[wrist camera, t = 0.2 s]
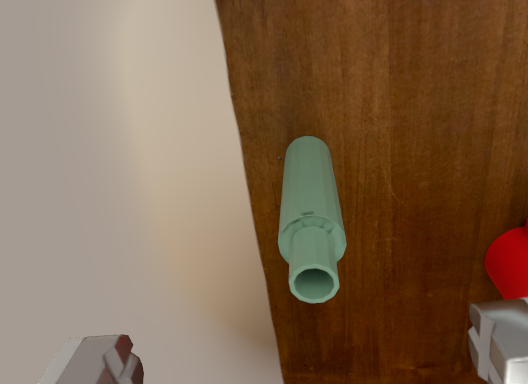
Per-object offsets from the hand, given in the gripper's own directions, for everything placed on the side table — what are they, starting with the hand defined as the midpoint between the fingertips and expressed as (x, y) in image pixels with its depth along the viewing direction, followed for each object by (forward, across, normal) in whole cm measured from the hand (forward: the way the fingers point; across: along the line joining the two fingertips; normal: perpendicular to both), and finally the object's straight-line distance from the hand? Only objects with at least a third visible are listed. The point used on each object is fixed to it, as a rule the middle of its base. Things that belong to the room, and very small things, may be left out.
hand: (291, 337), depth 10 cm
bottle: (+30, 0, +8) cm, 31 cm away
